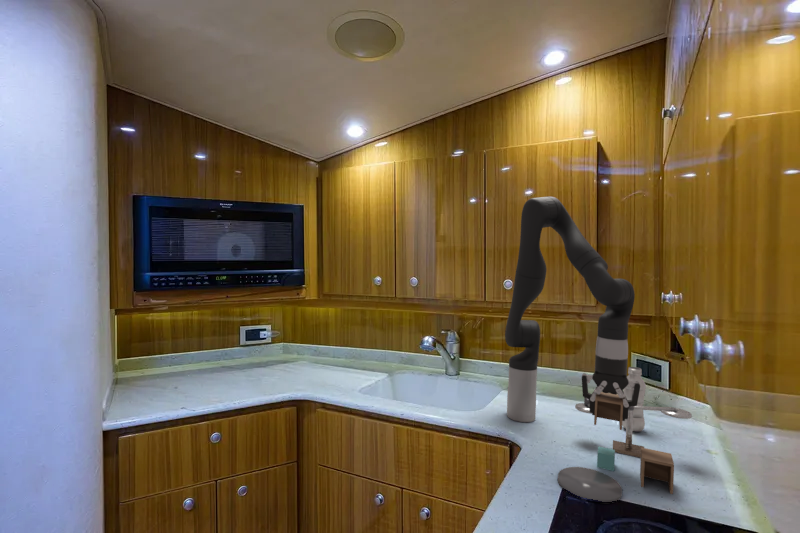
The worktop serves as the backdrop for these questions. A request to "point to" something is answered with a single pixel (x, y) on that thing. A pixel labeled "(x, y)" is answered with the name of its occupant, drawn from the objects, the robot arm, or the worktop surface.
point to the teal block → (606, 458)
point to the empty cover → (657, 466)
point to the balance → (628, 446)
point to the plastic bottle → (638, 414)
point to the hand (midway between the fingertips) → (608, 417)
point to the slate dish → (590, 484)
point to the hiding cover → (609, 407)
